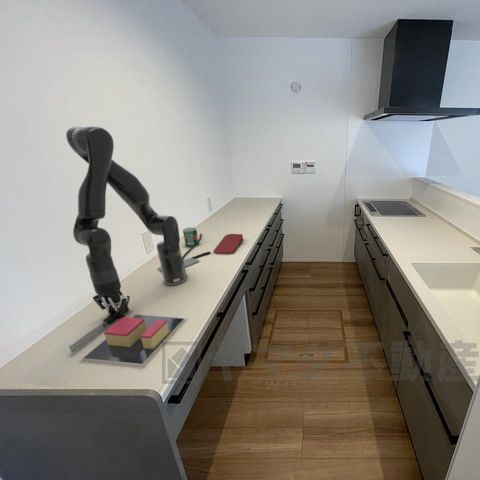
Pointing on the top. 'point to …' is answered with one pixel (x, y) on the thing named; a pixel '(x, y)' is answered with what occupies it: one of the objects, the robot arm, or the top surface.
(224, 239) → the red slab
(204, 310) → the top surface
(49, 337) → the top surface
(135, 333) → the cake
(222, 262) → the top surface
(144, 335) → the cake slice
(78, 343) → the knife
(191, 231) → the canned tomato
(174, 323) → the slate board
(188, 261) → the cleaver
